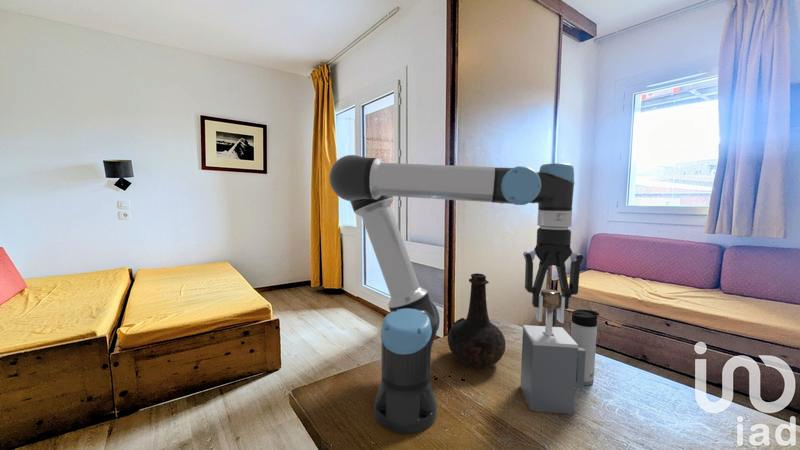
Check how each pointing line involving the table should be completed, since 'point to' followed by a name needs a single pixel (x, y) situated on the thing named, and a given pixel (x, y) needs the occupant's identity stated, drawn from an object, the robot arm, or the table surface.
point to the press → (551, 369)
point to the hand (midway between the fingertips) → (549, 320)
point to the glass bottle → (476, 331)
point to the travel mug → (585, 339)
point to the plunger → (550, 307)
